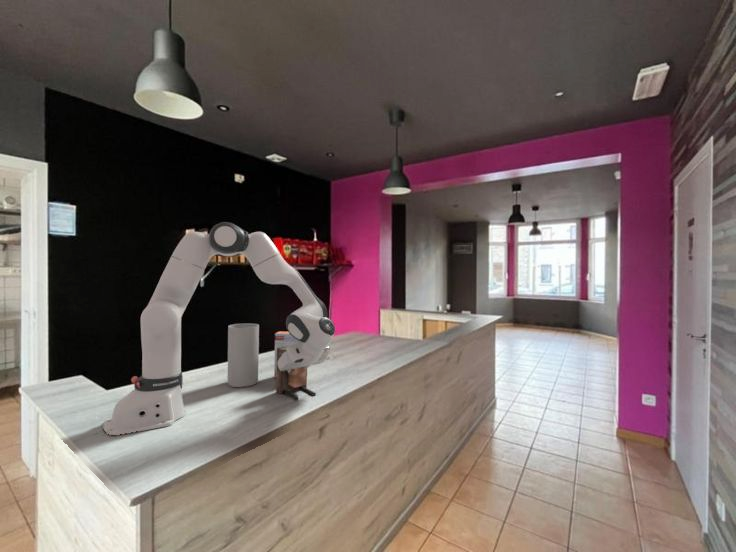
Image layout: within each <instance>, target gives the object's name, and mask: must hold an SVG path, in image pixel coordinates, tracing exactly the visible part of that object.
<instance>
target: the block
mask: <svg viewBox="0 0 736 552" xmlns="http://www.w3.org/2000/svg"><path fill="white" fill-rule="evenodd" d="M288 385H290V386H292V387H294V388H296V387H300V386H304V385H306V366H305V367H300V368H295V369H293V372H292V373H289V374H288Z"/></svg>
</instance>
